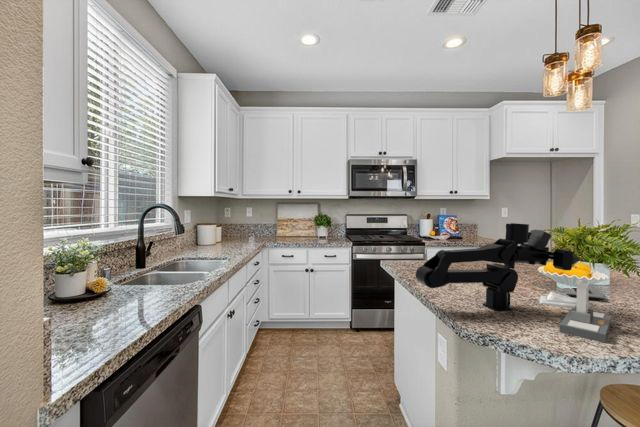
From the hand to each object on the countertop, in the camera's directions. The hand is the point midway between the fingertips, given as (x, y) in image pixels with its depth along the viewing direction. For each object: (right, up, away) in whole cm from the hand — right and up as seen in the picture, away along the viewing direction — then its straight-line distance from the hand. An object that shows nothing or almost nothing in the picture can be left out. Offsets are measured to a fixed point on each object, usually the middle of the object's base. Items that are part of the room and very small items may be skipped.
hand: (566, 256), depth 105 cm
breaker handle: (-10, -13, -18) cm, 25 cm away
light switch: (+1, -17, +2) cm, 17 cm away
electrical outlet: (+15, -17, +11) cm, 25 cm away
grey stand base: (-9, -17, -19) cm, 27 cm away
